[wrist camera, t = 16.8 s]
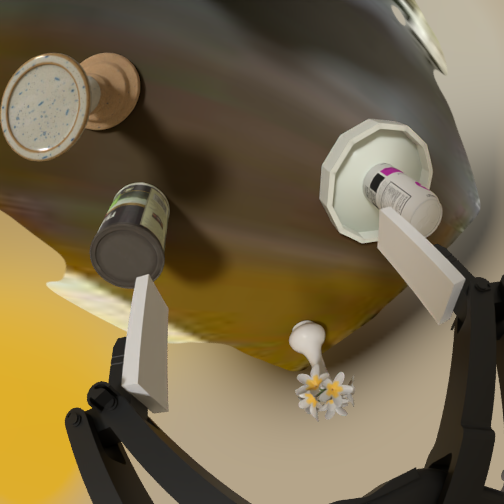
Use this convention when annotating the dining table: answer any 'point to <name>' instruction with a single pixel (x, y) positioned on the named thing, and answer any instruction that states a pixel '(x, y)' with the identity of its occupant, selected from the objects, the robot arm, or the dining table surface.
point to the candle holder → (65, 101)
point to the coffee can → (132, 236)
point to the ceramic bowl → (359, 163)
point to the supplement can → (403, 197)
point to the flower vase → (318, 374)
